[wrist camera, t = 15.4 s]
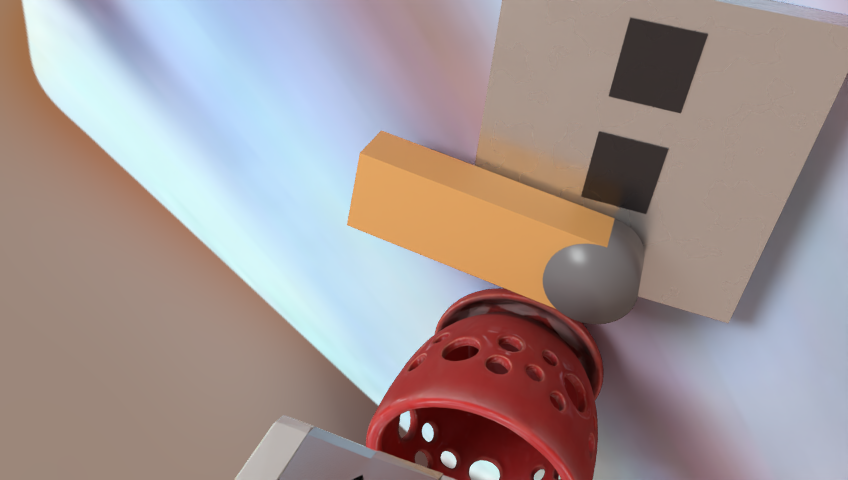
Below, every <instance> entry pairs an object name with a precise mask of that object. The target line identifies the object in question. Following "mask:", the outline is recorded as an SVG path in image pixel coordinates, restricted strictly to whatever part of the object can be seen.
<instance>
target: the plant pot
mask: <svg viewBox="0 0 848 480" xmlns="http://www.w3.org/2000/svg"><path fill="white" fill-rule="evenodd" d="M602 382H603V364H602V359H601V355H600V352H599V350H598V347H597V345H596V343H595V341H594V339H593V337H592V336H591V334H590V333H589V331H588V330H587V328H586V327H585V326H584V325H583V324H582V323H581V322H579V321H576V320H573V319H571V318H569V317H567V316H565V315H564V314H562V313H561V312H559V311H558V310H557V309H555V308H552V307H550V306H547V305H545V304H542V303H540V302H537V301H535V300H533V299H530V298H528V297H525V296H523V295H520V294H518V293H515V292H513V291H510V290H508V289H501V288H498V289H487V290H482V291H478V292H475V293H472V294H469V295H467V296H465V297H463V298H461V299H459V300H458V301H457V302H455V303H454V304H453V305H451V306H450V307H449V308H448V310H447V311H446V312H445V313H444V314H443V316H442V317H441V319H440V320H439V322H438V324H437V327H436V331H435V335H434V336H433V337H431V338H430V339H429V340H428V341H427V342H426V343H424V344H423V345H422V346H421V347H420V348H419V349H418V351H417V352H416V353H415V354H414V355H413V356H412V357H411V358H410V360H409V361H408V362H407V363H406V365H405V366H404V368H403V369H402V371H401V372H400V373H399V375H398V376H397V377H396V379H395V380H394V382H393V383H392V385H391V386H390V388H389V389H388V391H387V393H386V394H385V396H384V398H383V399H382V401H381V403H380V405H379V407H378V408H377V410H376V412H375V414H374V416H373V418H372V420H371V422H370V425H369V427H368V431H367V436H366V447H368V448H370V449H373V450H375V451H381V452H384V453H387V454H390V455H392V456H395V457H398V458H401V459H404V460H406V461H409V462H412V463H415V454H416V453H417V452H418V451H422V452H423V453H424V454H425V455H426V457H427V460H428V466H427V468H429V469H432V470H435V471H438V472H440V473H443V475H445V476H448V477H450V478H453V479H456V480H471V478H470V476H469V468H470V466H471V465H472V464H473V463H474V462H476V461H479V460H485V461H489V462H491V463H493V464H494V465H495V466H496V467H497V468H498V469H499V472H500V479H499V480H534V475H535V473H536V472H537V471H538V470H540V469H544V470H545V474H544V477H543V478H542V479H541V480H559V479H558V475H560V477H561V479H560V480H592V479H593V473H594V467H595V462H596V454H597V442H598V425H597V412H596V405H595V400H596V398H597V396H598V395H599V393H600V390H601V387H602ZM406 411H410V417H411V419H410V427H409V430H408V432H407V434H406V435H405V436H404V437H403V438H401V437H400V435H399V431H398V428H399V422H400V414H402V413H404V412H406ZM425 423H429V424H430V425H431V426H432V428H433V431H434V437H433V439H432V441H430V442H427V441H426V440H425V439H424V438H423V436H422V427H423V425H424V424H425ZM444 451H449V452H451V453H452V454H453V455H454V456H455V457H456V460H457V463H456V466H455V468H453V469H451V468H448V467H446V466H445V465H444V464H443V463H442V461H441V458H440V457H441V454H442V452H444ZM415 464H416V463H415Z"/></svg>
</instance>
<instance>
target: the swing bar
mask: <svg viewBox="0 0 848 480" xmlns="http://www.w3.org/2000/svg"><path fill="white" fill-rule="evenodd" d="M347 225H348V226H351V227H353V228H356V229H358V230H361V231H363V232H366V233H368V234H371V235H373V236H376V237H378V238H381V239H383V240H386V241H388V242H391V243H393V244H396V245H398V246H401V247H403V248H406V249H408V250H411V251H413V252H415V253H418V254H420V255H423V256H425V257H428V258H430V259H433V260H435V261H438V262H440V263H443V264H445V265H448V266H450V267H453V268H455V269H458V270H460V271H463V272H465V273H468V274H470V275H473V276H475V277H478V278H480V279H483V280H485V281H488V282H490V283H493V284H495V285H498V286H500V287H503V288H505V289H508V290H510V291H513V292H515V293H518V294H520V295H523V296H525V297H528V298H530V299H533V300H535V301H537V302H540V303H542V304H545V305H547V306H550V307H552V308H555V309H557V310H558V311H559V312H561V313H562V314H564V315H565V316H567V317H569V318H571V319H573V320H576V321H579V322H583V323H588V324H605V323H610V322H613V321H616V320H618V319H620V318H622V317H624V316H625V315H626V314H627V313H629V312H630V310H631V309H632V308H633V306H634V305H635V303H636V300H637V297H638V292H639V286H640V281H641V275H642V270H643V264H644V256H645V255H644V248H643V245H642V242H641V240H640V238H639V237H638V235H637V234H636V233H635V231H633V230H632V229H631V228H630V227H629V226H628V225H626V224H625V223H623V222H622V221H620V220H617V219H615V218H612V217H610V216H607V215H604V214H602V213H599V212H597V211H594V210H591V209H589V208H586V207H583V206H581V205H578V204H575V203H573V202H570V201H567V200H565V199H562V198H559V197H557V196H554V195H551V194H549V193H546V192H543V191H541V190H538V189H535V188H533V187H530V186H527V185H525V184H522V183H519V182H517V181H514V180H511V179H509V178H506V177H503V176H501V175H498V174H496V173H493V172H490V171H488V170H485V169H482V168H480V167H477V166H474V165H472V164H469V163H466V162H464V161H461V160H458V159H456V158H453V157H450V156H448V155H445V154H442V153H440V152H437V151H434V150H432V149H429V148H426V147H424V146H421V145H418V144H416V143H413V142H410V141H408V140H405V139H402V138H400V137H397V136H394V135H392V134H389V133H387V132H384V131H380V132H379V133H378V135H377V136H376V137H375V138H374V139H373V140H372V141H371V142H370V143H369V144H368V145H367V146H366V147H365V148H364V149H363V150H362V151H361V152H360V156H359V161H358V167H357V172H356V178H355V184H354V189H353V195H352V200H351V206H350V211H349V217H348V223H347Z"/></svg>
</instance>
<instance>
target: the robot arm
mask: <svg viewBox="0 0 848 480" xmlns="http://www.w3.org/2000/svg"><path fill="white" fill-rule="evenodd" d="M234 480H456V479H453V478H450V477H448V476H445V475H443V473H440V472H438V471H435V470H432V469H429V468H426V467H423V466H421V465H417V464H415V463H412V462H409V461H406V460H404V459H401V458H398V457H395V456H392V455H390V454H387V453H384V452H381V451H375V450H373V449H370V448H368V447H365V446H362V445H360V444H357V443H355V442H352V441H350V440H347V439H345V438H342V437H340V436H337V435H335V434H332V433H329V432H327V431H324V430H322V429H319V428H317V427H315V426H312V425H310V424H307V423H304V422H301V421H299V420H296V419H294V418H290V417H288V416H285V415H283V416H282V417H281V418H279V419H278V420H277V421H276V422H275V423H274V424H273V425H272V427H271V428H270V429H269V431H268V432H267V434H266V435H265V437H264V438H263V440H262V441H261V442H260V444H259V445H258V447H257V448H256V449H255V451H254V452H253V454H252V455H251V457H250V458H249V459H248V461H247V462H246V464H245V465H244V467H243V468H242V469H241V471H240V472H239V474H238V475H237V477H236V478H235V479H234Z"/></svg>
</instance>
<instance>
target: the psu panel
mask: <svg viewBox="0 0 848 480" xmlns="http://www.w3.org/2000/svg"><path fill="white" fill-rule="evenodd" d="M847 73H848V15H843V14H838V13H833V12H828V11H823V10H818V9H813V8H808V7H803V6H798V5H793V4H787V3H782V2H777V1H772V0H502V5H501V11H500V17H499V23H498V29H497V35H496V41H495V47H494V53H493V59H492V65H491V71H490V77H489V83H488V89H487V95H486V101H485V107H484V113H483V119H482V125H481V131H480V137H479V143H478V149H477V155H476V161H475V166H477V167H480V168H482V169H485V170H488V171H490V172H493V173H496V174H498V175H501V176H503V177H506V178H509V179H511V180H514V181H517V182H519V183H522V184H525V185H527V186H530V187H533V188H535V189H538V190H541V191H543V192H546V193H549V194H551V195H554V196H557V197H559V198H562V199H565V200H567V201H570V202H573V203H575V204H578V205H581V206H583V207H586V208H589V209H591V210H594V211H597V212H599V213H602V214H604V215H607V216H610V217H612V218H615V219H617V220H620V221H622V222H623V223H625V224H626V225H628V226H629V227H630V228H631V229H632V230H633V231H635V233H636V234H637V235H638V237H639V238H640V240H641V242H642V245H643V248H644V255H645V256H644V264H643V270H642V275H641V281H640V286H639V292H638V297H641V298H645V299H648V300H652V301H655V302H658V303H662V304H665V305H668V306H672V307H675V308H679V309H682V310H685V311H689V312H692V313H695V314H699V315H702V316H706V317H709V318H712V319H716V320H719V321H723V322H726V323H729V321H730V319H731V317H732V315H733V312H734V310H735V308H736V306H737V304H738V302H739V300H740V298H741V296H742V294H743V292H744V289H745V287H746V285H747V283H748V281H749V279H750V277H751V275H752V273H753V271H754V268H755V266H756V264H757V262H758V260H759V258H760V256H761V254H762V252H763V250H764V247H765V245H766V243H767V241H768V239H769V237H770V235H771V233H772V231H773V229H774V226H775V224H776V222H777V220H778V218H779V216H780V214H781V212H782V210H783V208H784V205H785V203H786V201H787V199H788V197H789V195H790V193H791V191H792V189H793V187H794V184H795V182H796V180H797V178H798V176H799V174H800V172H801V170H802V168H803V166H804V163H805V161H806V159H807V157H808V155H809V153H810V151H811V149H812V147H813V145H814V143H815V140H816V138H817V136H818V134H819V132H820V130H821V128H822V126H823V124H824V122H825V119H826V117H827V115H828V113H829V111H830V109H831V107H832V105H833V103H834V101H835V98H836V96H837V94H838V92H839V90H840V88H841V86H842V84H843V82H844V80H845V77H846V75H847Z"/></svg>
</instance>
